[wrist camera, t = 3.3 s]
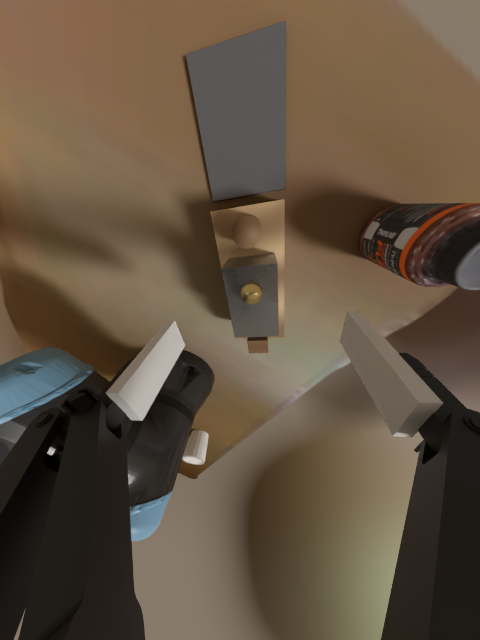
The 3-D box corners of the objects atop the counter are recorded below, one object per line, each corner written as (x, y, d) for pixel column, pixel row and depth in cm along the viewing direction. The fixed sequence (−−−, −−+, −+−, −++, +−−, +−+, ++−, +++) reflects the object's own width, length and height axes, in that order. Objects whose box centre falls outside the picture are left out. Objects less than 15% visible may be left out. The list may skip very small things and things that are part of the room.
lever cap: (238, 318, 23) (234, 340, 19) (228, 258, 19) (220, 271, 15) (276, 316, 22) (279, 339, 18) (274, 252, 18) (278, 264, 14)
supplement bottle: (346, 239, 20) (419, 266, 11) (399, 189, 17) (560, 169, 8) (374, 270, 22) (459, 317, 13) (427, 230, 19) (589, 252, 10)
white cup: (187, 434, 56) (178, 460, 50) (193, 426, 52) (184, 454, 47) (206, 440, 57) (200, 467, 52) (213, 433, 54) (207, 461, 48)
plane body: (280, 319, 28) (287, 355, 21) (238, 322, 29) (231, 356, 22) (279, 200, 19) (289, 197, 12) (219, 210, 20) (199, 212, 13)
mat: (213, 201, 20) (213, 201, 19) (187, 57, 14) (185, 54, 14) (284, 188, 18) (285, 188, 18) (285, 25, 13) (285, 20, 13)
